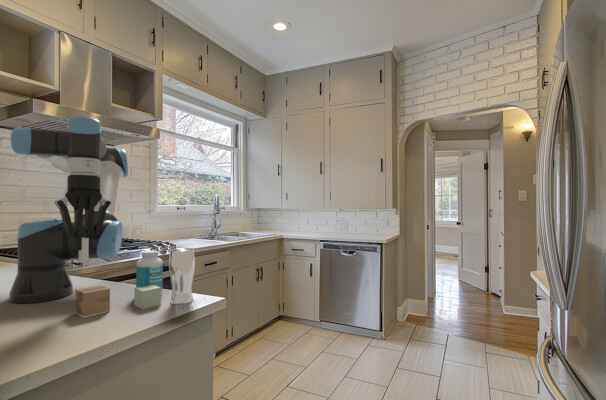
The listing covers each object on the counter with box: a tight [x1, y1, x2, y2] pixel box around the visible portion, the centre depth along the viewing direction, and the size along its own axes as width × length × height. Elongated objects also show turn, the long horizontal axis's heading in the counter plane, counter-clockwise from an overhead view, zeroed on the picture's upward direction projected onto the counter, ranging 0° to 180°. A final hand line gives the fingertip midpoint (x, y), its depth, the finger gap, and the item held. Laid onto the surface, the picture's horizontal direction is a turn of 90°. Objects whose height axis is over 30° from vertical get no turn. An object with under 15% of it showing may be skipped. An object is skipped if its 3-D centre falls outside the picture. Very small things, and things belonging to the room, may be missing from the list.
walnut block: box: [74, 284, 111, 318], centre depth 87 cm, size 6×6×6 cm
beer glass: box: [168, 247, 196, 306], centre depth 97 cm, size 7×7×15 cm
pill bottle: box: [135, 250, 164, 295], centre depth 103 cm, size 8×7×14 cm
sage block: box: [133, 285, 162, 310], centre depth 94 cm, size 5×5×5 cm
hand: (83, 262), depth 91 cm, fingers closed
